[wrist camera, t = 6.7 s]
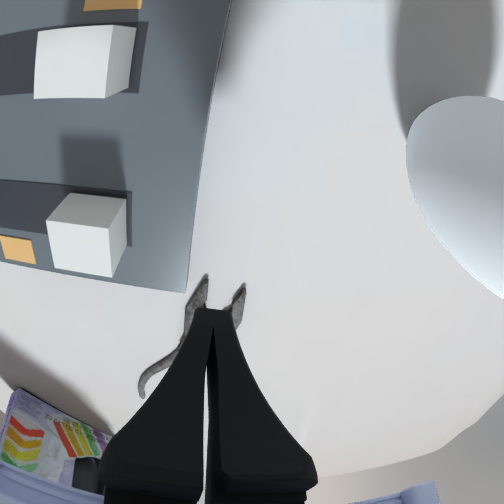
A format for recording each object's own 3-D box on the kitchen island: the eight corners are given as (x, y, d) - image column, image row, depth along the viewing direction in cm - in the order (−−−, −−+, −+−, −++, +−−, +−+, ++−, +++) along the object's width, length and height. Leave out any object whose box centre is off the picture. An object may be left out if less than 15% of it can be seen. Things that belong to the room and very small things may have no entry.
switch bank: (-2, 247, 20) (-12, 259, 18) (-16, -2, 9) (-31, -2, 8) (188, 278, 22) (185, 294, 21) (237, -25, 11) (237, -32, 10)
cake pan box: (127, 441, 42) (116, 541, 27) (111, 444, 43) (100, 536, 29) (20, 383, 32) (-12, 495, 18) (12, 390, 34) (-18, 492, 20)
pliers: (141, 406, 33) (110, 274, 21) (142, 399, 33) (114, 266, 22) (225, 414, 34) (249, 287, 22) (225, 408, 34) (248, 279, 23)
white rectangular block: (65, 87, 12) (33, 98, 10) (70, 30, 11) (38, 31, 8) (128, 87, 13) (104, 98, 10) (136, 27, 11) (113, 25, 9)
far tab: (74, 237, 18) (54, 267, 15) (70, 192, 16) (45, 220, 13) (126, 244, 18) (112, 277, 16) (126, 199, 16) (108, 228, 14)
